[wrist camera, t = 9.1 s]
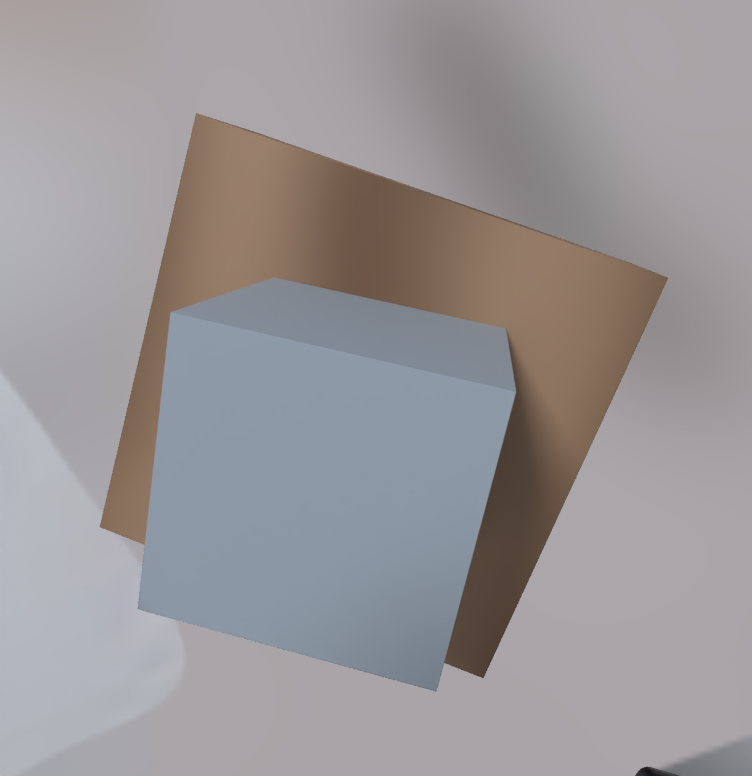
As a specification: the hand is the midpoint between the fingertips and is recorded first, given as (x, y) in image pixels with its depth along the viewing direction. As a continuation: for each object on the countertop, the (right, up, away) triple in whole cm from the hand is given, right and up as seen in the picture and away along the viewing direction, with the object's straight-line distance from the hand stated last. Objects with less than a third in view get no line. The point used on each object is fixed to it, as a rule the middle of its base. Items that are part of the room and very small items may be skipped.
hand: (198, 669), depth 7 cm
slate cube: (+2, +2, +8) cm, 8 cm away
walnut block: (+2, +3, +12) cm, 12 cm away
